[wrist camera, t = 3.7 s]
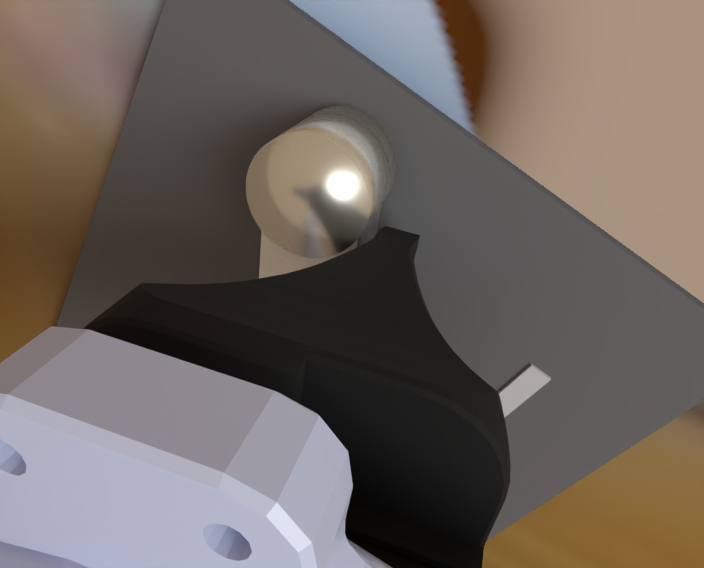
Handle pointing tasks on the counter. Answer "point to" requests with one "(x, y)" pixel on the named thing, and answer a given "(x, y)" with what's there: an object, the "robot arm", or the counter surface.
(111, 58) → the counter surface
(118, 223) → the lock plate
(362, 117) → the lever
